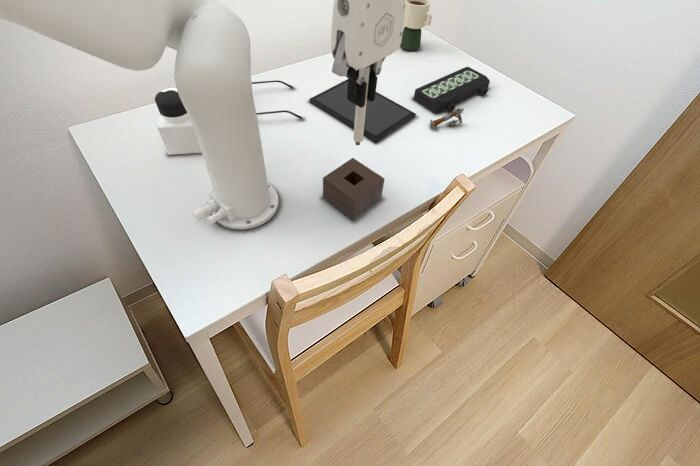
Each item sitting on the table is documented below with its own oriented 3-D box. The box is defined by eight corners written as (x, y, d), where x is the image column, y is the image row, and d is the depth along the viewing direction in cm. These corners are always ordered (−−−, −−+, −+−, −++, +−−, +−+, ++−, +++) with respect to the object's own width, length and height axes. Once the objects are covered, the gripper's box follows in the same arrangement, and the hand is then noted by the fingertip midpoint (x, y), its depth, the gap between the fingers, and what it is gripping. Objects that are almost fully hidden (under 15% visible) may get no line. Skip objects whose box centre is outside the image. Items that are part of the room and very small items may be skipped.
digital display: (443, 106, 92) (414, 88, 96) (440, 117, 94) (412, 99, 99) (497, 80, 101) (467, 64, 105) (493, 91, 103) (464, 75, 108)
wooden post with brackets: (466, 122, 92) (464, 108, 88) (435, 137, 93) (432, 123, 89) (463, 118, 93) (461, 104, 89) (433, 132, 94) (429, 119, 90)
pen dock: (353, 220, 72) (355, 200, 68) (322, 197, 75) (322, 177, 71) (381, 198, 76) (384, 178, 71) (351, 178, 79) (352, 157, 75)
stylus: (358, 148, 65) (364, 69, 54) (351, 144, 65) (356, 65, 54) (364, 144, 65) (372, 65, 54) (357, 139, 66) (364, 61, 55)
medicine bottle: (203, 153, 81) (187, 103, 72) (168, 155, 80) (147, 105, 71) (205, 132, 85) (191, 83, 76) (172, 134, 84) (153, 84, 75)
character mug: (430, 50, 116) (441, 3, 106) (417, 57, 112) (426, 10, 102) (402, 37, 120) (409, -9, 110) (388, 44, 116) (394, -3, 106)
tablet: (375, 143, 86) (376, 139, 86) (309, 102, 95) (309, 98, 94) (415, 116, 94) (416, 113, 93) (350, 80, 102) (350, 77, 102)
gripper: (350, -15, 39) (343, 133, 54) (437, -45, 47) (410, 91, 61) (301, -36, 42) (306, 110, 56) (390, -61, 50) (375, 73, 64)
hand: (360, 99), depth 59 cm, fingers closed on stylus, 1 cm apart
